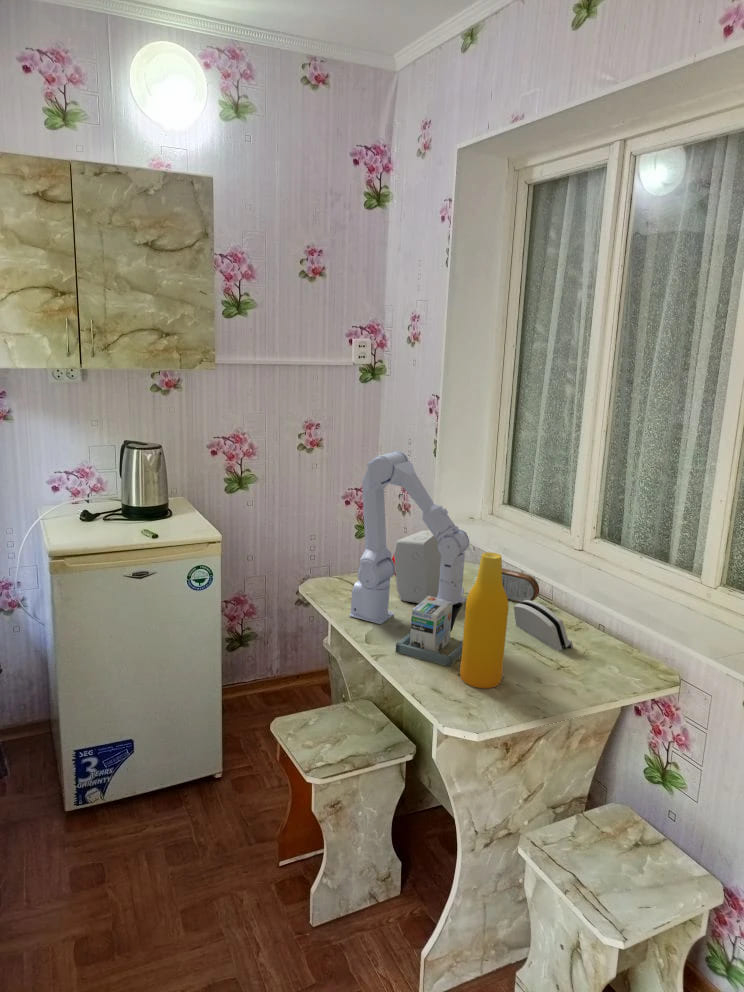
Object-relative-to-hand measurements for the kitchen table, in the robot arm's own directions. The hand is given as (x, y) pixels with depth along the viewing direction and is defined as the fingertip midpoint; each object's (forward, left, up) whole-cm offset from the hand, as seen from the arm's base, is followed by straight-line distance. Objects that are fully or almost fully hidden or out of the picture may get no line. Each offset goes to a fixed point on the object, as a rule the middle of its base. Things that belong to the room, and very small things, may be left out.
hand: (447, 630), depth 190 cm
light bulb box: (-1, -8, -2) cm, 8 cm away
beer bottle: (+15, -17, -2) cm, 23 cm away
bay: (0, -7, -2) cm, 7 cm away
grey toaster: (+20, +13, -2) cm, 24 cm away
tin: (+6, +34, -2) cm, 35 cm away
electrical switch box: (-18, +22, -2) cm, 29 cm away
